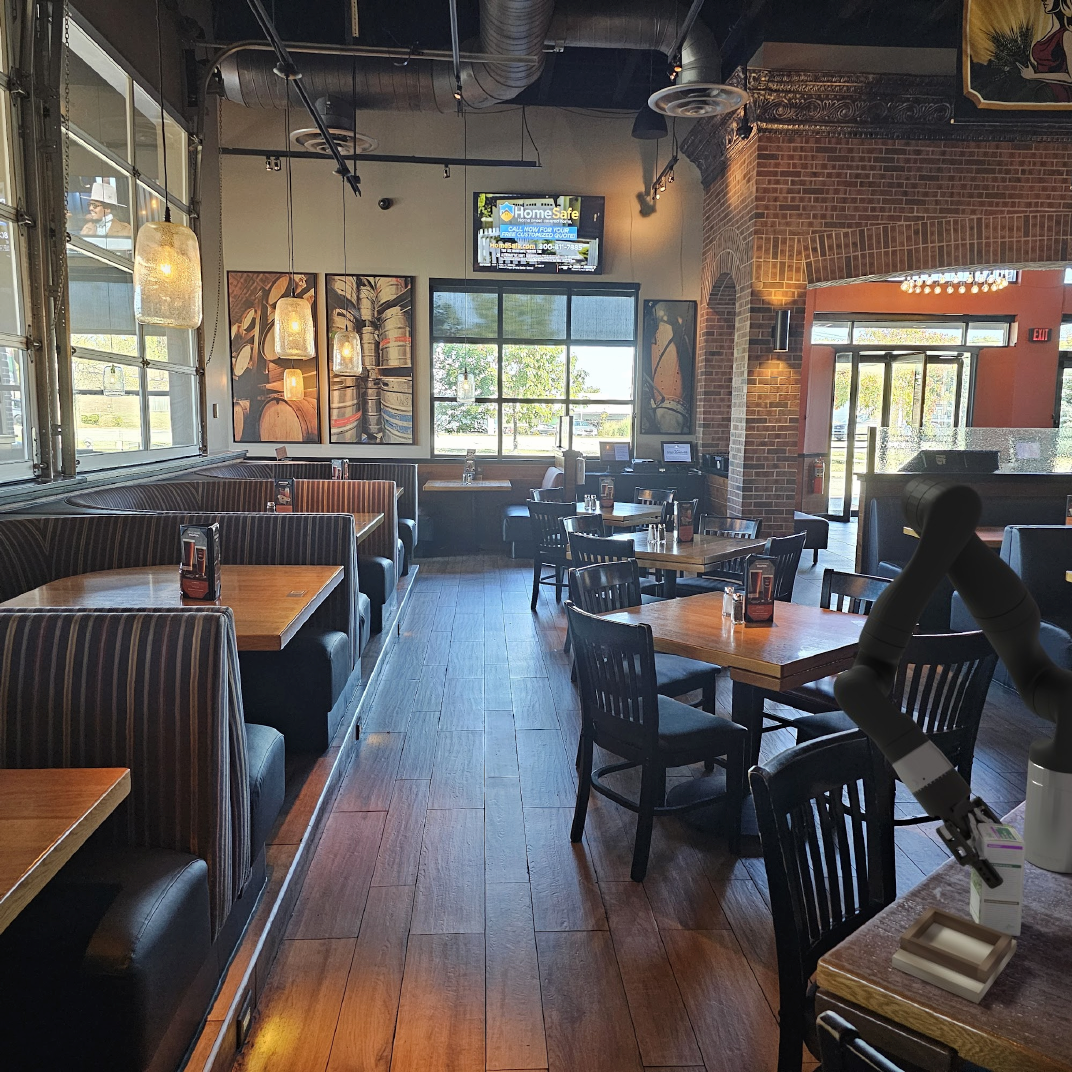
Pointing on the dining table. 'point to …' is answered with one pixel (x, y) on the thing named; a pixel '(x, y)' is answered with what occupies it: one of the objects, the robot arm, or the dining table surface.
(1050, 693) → the robot arm
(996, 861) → the syrup box
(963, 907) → the dining table surface
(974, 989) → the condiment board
